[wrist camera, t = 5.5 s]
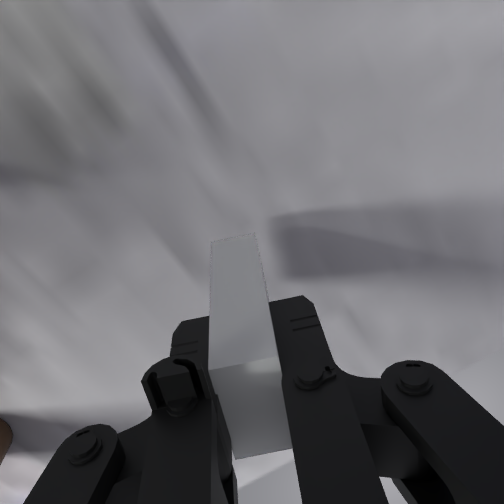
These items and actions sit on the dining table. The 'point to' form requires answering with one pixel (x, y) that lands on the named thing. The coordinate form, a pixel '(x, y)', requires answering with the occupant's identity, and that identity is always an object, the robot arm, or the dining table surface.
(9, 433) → the post
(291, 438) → the robot arm
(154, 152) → the dining table surface
